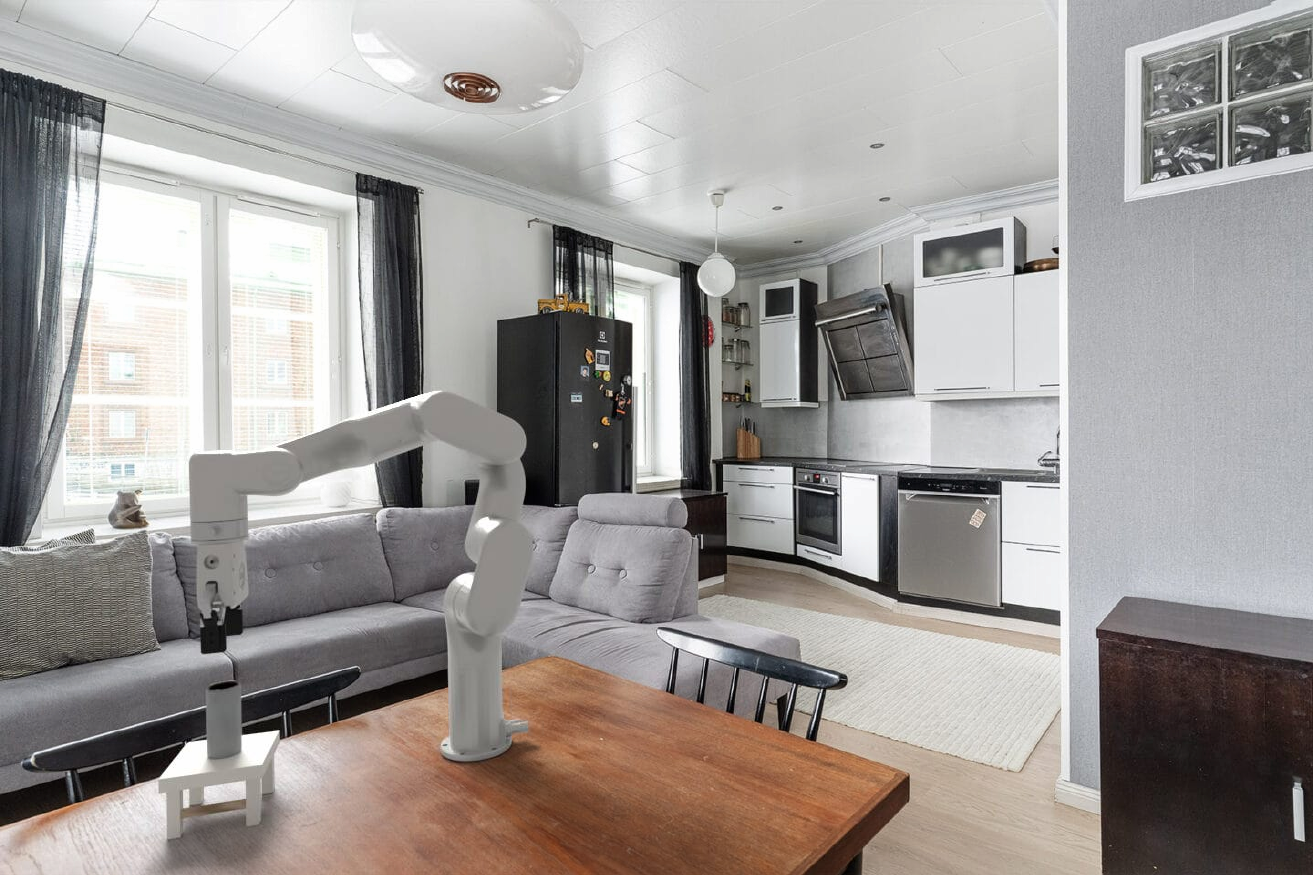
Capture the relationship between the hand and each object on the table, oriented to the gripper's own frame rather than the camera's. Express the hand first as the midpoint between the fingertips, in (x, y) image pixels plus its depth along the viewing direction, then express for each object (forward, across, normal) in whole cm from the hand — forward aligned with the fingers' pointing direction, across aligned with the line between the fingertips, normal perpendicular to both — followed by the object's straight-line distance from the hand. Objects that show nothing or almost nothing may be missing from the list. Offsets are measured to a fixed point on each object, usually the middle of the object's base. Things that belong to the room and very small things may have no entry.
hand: (223, 643), depth 108 cm
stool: (+26, 0, 0) cm, 26 cm away
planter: (+17, 0, 0) cm, 17 cm away
